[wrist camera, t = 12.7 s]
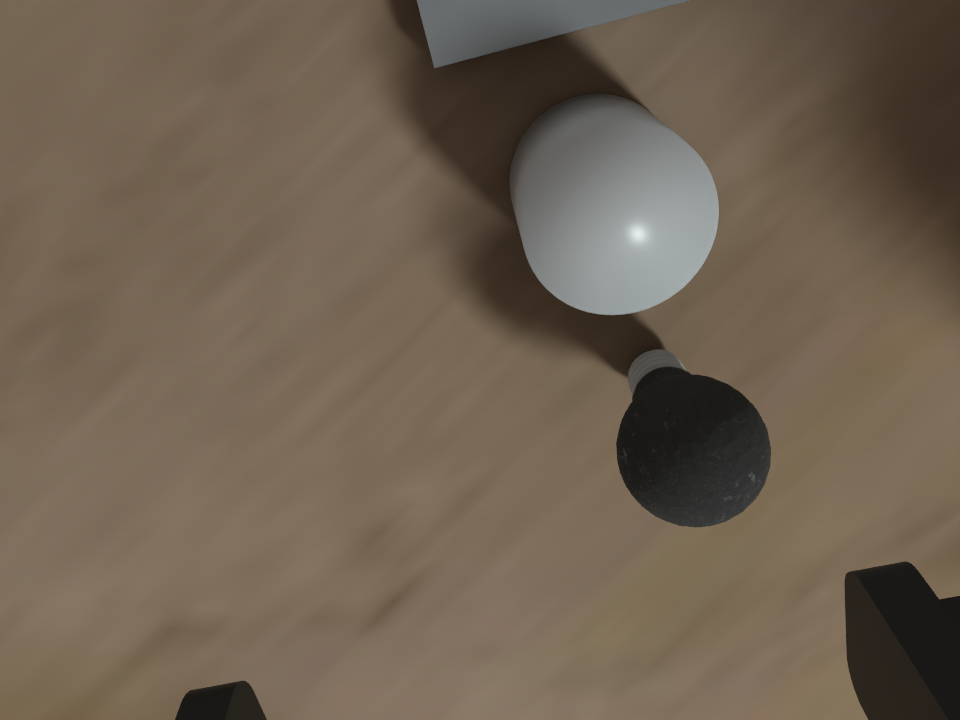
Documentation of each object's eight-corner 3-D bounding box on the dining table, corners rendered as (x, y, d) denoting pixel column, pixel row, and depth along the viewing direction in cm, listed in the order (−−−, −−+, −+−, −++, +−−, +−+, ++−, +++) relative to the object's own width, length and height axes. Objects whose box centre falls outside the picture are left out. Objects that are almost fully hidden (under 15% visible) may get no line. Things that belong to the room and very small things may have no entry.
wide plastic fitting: (662, 73, 33) (706, 99, 28) (686, 236, 36) (729, 289, 31) (491, 117, 33) (501, 152, 28) (529, 275, 36) (544, 334, 31)
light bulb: (692, 289, 37) (772, 402, 28) (727, 392, 39) (811, 527, 30) (570, 337, 38) (611, 462, 29) (612, 436, 40) (661, 580, 31)
